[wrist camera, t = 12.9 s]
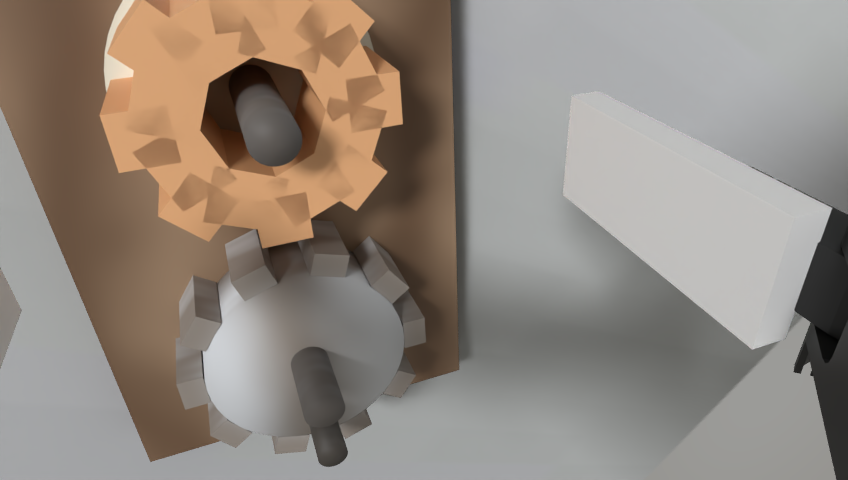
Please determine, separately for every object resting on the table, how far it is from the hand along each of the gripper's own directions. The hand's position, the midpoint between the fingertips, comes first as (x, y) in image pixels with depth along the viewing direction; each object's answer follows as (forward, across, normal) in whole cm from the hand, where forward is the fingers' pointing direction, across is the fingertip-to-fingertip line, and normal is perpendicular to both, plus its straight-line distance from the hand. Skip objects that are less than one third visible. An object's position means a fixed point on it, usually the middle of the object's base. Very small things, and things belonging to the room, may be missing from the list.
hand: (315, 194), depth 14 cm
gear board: (+12, 0, -6) cm, 14 cm away
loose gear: (+10, 0, 0) cm, 10 cm away
